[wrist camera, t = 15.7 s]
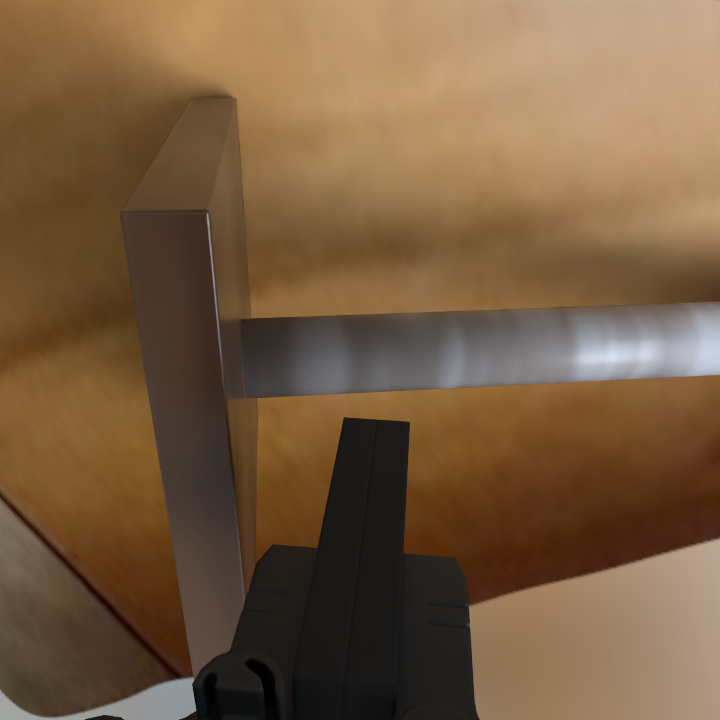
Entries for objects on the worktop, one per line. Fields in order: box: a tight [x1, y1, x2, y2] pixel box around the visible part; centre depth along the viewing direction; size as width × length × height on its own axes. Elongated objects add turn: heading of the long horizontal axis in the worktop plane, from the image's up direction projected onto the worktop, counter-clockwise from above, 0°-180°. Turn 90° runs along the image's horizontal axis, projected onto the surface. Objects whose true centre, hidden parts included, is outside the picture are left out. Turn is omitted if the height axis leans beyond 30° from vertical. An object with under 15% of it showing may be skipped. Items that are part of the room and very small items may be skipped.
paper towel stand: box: [120, 98, 720, 680], centre depth 19 cm, size 25×13×13 cm, turn 89°
